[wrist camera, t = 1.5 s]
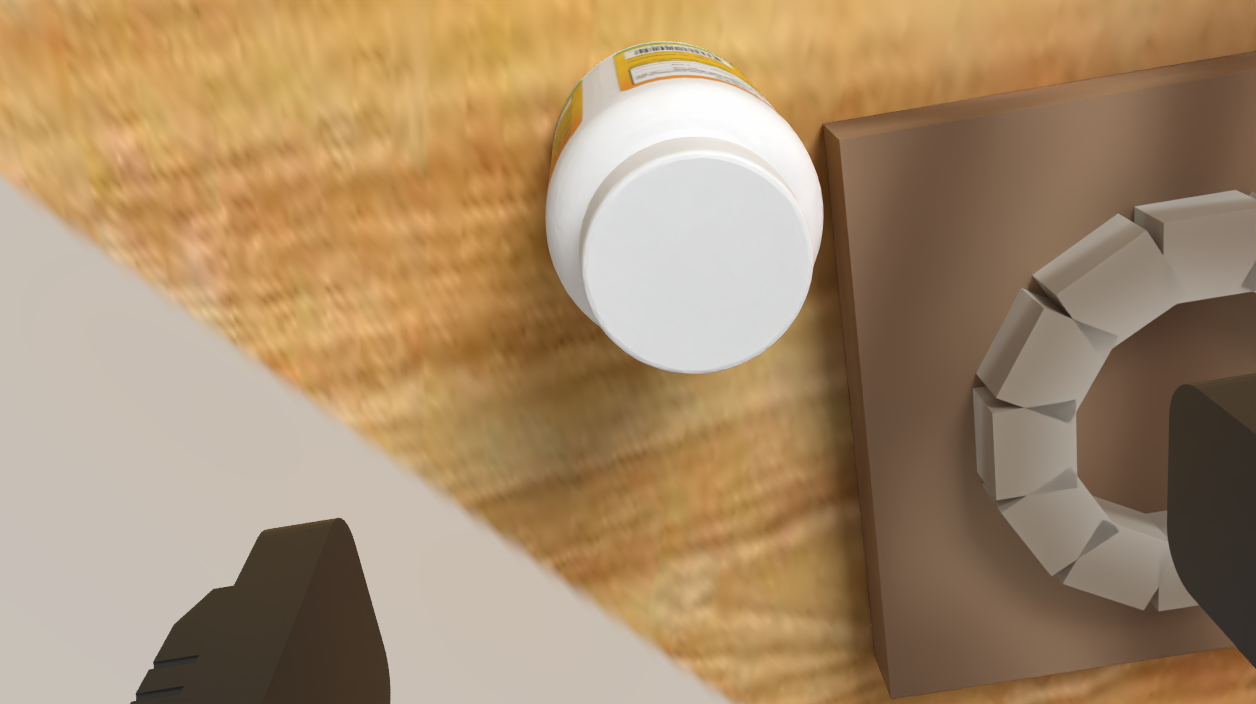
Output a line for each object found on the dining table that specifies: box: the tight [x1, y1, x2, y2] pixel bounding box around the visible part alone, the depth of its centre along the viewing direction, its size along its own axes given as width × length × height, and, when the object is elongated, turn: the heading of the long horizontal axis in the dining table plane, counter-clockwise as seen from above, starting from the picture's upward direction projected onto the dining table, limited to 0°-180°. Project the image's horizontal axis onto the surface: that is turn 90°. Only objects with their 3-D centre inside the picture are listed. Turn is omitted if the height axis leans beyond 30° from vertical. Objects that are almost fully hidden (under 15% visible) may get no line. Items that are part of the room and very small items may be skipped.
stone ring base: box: [823, 51, 1256, 699], centre depth 29 cm, size 16×16×4 cm
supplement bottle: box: [545, 41, 823, 374], centre depth 24 cm, size 5×5×10 cm
